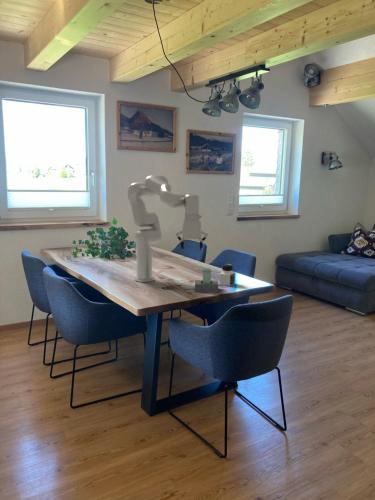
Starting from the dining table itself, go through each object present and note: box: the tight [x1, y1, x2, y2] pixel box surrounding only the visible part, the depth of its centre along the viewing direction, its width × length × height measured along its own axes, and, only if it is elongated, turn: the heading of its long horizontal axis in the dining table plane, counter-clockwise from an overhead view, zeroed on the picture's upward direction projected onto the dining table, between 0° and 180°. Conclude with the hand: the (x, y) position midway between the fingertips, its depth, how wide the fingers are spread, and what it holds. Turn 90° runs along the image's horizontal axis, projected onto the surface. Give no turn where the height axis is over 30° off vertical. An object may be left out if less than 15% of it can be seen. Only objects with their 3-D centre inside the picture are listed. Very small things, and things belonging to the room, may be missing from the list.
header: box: [194, 279, 219, 293], centre depth 226 cm, size 9×13×4 cm
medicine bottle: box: [218, 263, 236, 287], centre depth 238 cm, size 7×7×12 cm
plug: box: [202, 268, 212, 284], centre depth 225 cm, size 5×5×12 cm
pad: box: [182, 284, 195, 290], centre depth 230 cm, size 7×7×1 cm
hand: (191, 248), depth 216 cm, fingers open, 9 cm apart
